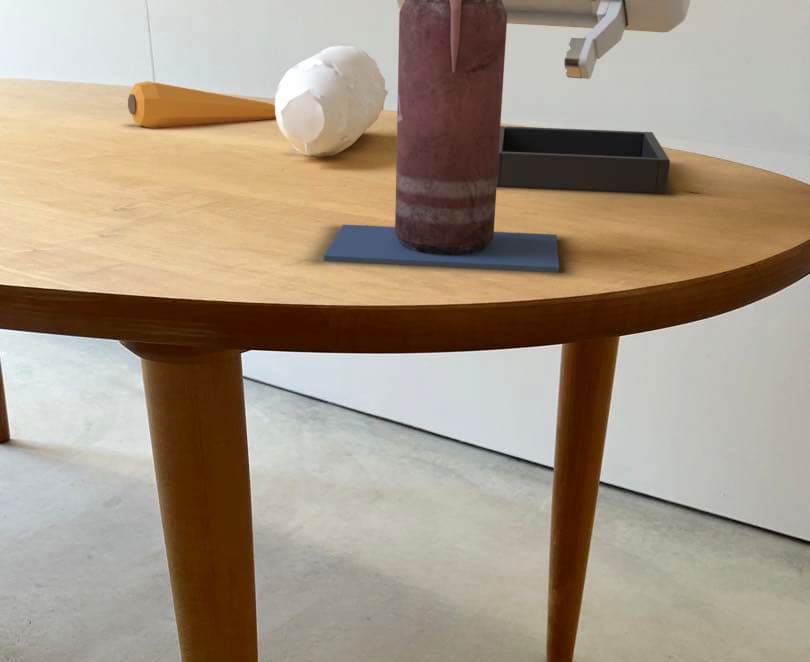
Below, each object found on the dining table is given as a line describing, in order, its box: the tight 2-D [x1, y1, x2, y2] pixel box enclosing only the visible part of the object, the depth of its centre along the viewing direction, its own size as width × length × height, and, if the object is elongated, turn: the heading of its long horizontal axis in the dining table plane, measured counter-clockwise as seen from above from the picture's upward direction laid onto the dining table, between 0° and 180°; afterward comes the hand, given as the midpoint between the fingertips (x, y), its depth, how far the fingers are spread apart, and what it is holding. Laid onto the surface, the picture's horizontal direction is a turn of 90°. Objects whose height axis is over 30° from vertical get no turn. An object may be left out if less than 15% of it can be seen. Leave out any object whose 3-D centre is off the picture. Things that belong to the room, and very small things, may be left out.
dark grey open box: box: [497, 125, 671, 196], centre depth 91 cm, size 14×14×3 cm
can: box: [394, 0, 508, 255], centre depth 66 cm, size 6×6×14 cm
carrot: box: [127, 80, 276, 129], centre depth 112 cm, size 20×4×4 cm, turn 123°
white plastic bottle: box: [274, 44, 389, 158], centre depth 97 cm, size 8×19×8 cm, turn 172°
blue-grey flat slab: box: [322, 224, 560, 274], centre depth 69 cm, size 14×8×1 cm, turn 84°
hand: (505, 66), depth 71 cm, fingers open, 8 cm apart
